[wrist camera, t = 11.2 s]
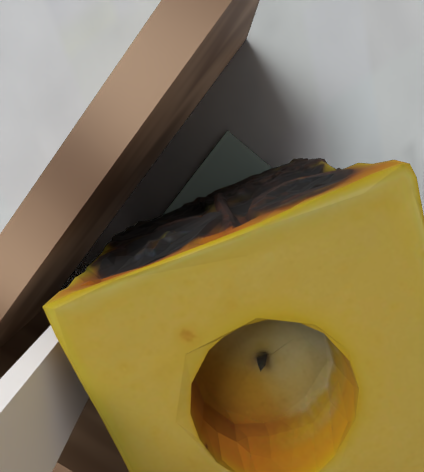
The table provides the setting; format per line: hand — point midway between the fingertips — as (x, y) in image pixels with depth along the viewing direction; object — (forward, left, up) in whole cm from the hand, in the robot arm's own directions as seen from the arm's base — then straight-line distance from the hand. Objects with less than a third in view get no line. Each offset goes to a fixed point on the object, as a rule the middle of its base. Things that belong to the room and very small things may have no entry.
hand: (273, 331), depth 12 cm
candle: (0, 0, -8) cm, 8 cm away
